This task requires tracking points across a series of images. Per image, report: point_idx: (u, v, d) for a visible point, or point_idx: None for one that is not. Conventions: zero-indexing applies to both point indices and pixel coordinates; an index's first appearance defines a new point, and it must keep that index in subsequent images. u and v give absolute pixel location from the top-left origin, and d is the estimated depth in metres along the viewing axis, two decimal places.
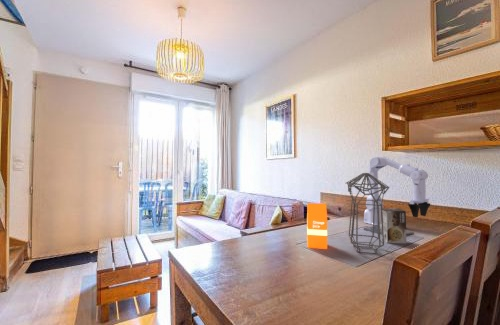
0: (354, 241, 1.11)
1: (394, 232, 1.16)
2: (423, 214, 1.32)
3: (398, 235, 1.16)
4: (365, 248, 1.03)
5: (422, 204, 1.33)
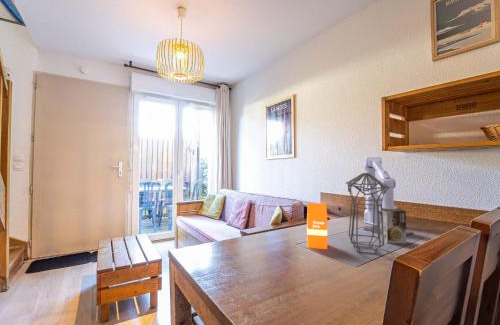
0: (354, 241, 1.11)
1: (394, 232, 1.16)
2: None
3: (398, 235, 1.16)
4: (365, 248, 1.03)
5: None
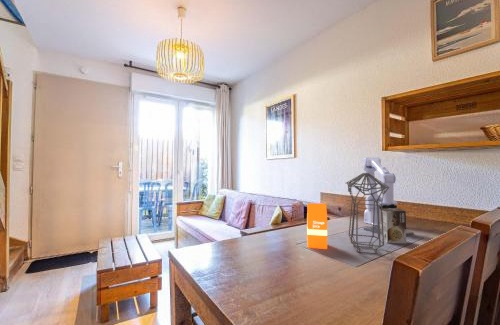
0: (354, 241, 1.11)
1: (394, 232, 1.16)
2: None
3: (398, 235, 1.16)
4: (365, 248, 1.03)
5: (389, 206, 1.39)
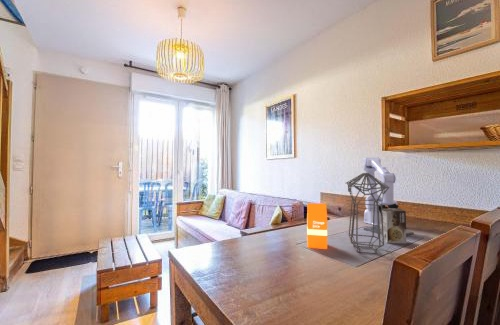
0: (354, 241, 1.11)
1: (394, 232, 1.16)
2: None
3: (398, 235, 1.16)
4: (365, 248, 1.03)
5: (391, 206, 1.39)
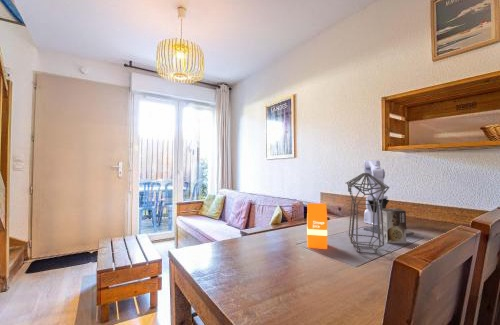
0: (354, 241, 1.11)
1: (394, 232, 1.16)
2: None
3: (398, 235, 1.16)
4: (365, 248, 1.03)
5: None
